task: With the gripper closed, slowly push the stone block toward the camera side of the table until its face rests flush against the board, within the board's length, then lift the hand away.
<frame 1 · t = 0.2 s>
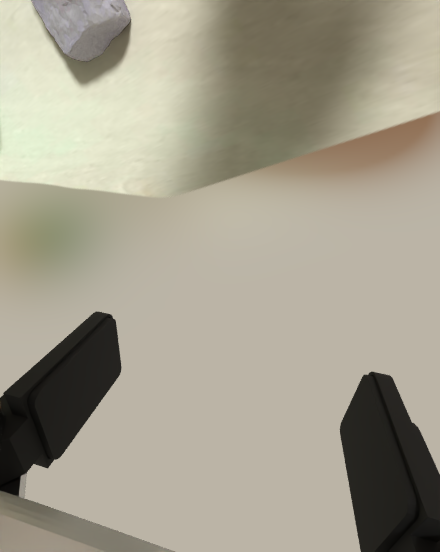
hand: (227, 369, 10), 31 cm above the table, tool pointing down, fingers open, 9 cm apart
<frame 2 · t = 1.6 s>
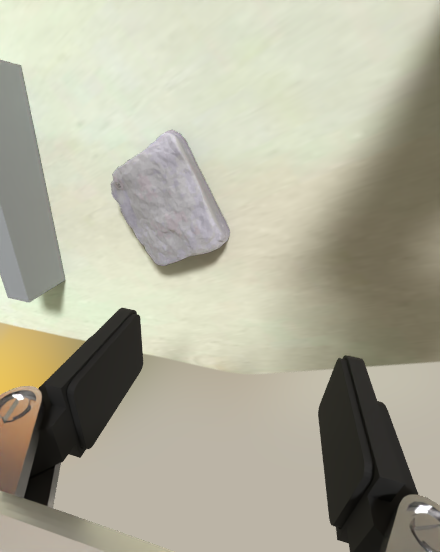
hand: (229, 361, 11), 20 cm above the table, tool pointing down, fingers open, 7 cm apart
stone block: (173, 204, 30), on the table
board: (36, 189, 32), on the table
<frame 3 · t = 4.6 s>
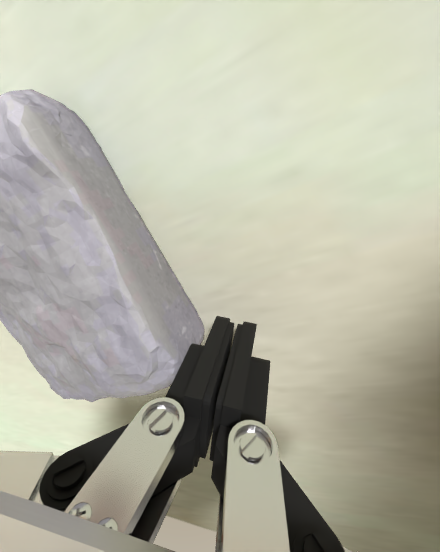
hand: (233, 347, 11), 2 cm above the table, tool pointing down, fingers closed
stone block: (85, 264, 14), on the table
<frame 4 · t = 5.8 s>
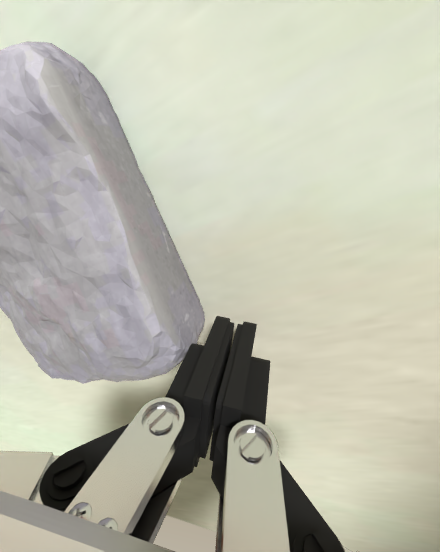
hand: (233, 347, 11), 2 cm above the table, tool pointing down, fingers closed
stone block: (86, 241, 13), on the table
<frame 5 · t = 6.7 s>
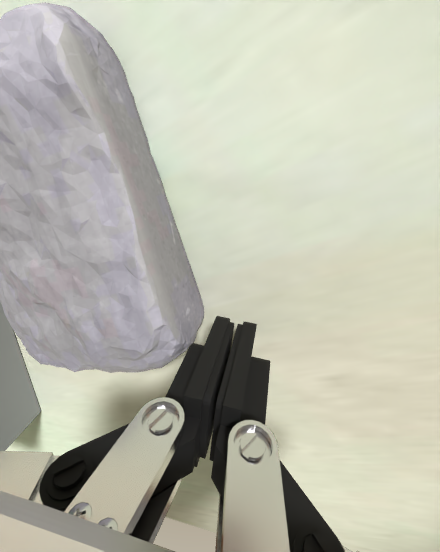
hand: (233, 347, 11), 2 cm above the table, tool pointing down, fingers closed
stone block: (86, 224, 13), on the table, touching gripper
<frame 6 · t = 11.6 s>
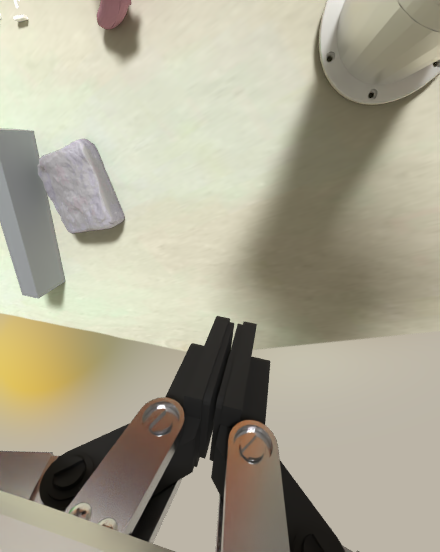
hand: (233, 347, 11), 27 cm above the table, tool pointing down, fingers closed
stone block: (87, 190, 40), on the table
board: (43, 214, 43), on the table
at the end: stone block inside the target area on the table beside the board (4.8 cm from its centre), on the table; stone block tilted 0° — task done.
